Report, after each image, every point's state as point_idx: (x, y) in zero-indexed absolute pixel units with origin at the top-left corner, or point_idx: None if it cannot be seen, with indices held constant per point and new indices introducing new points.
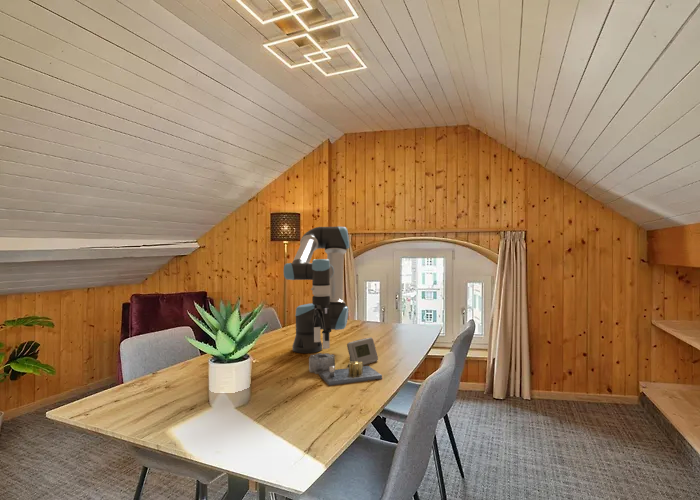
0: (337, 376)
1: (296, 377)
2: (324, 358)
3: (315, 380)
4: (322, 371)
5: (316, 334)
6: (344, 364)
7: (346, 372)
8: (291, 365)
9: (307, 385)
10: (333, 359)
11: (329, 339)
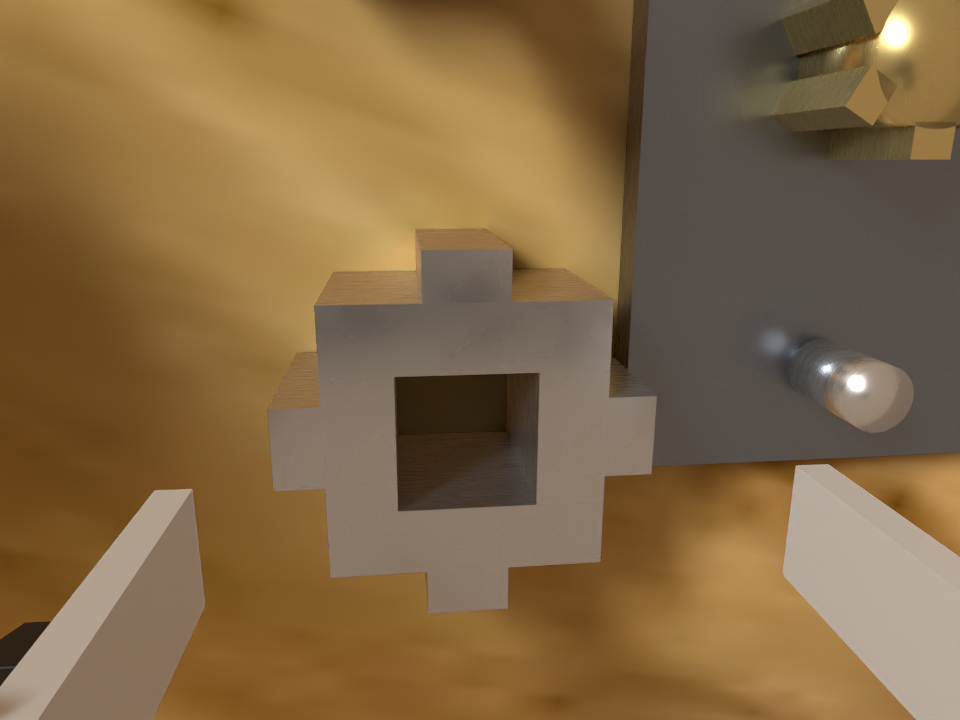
0: (877, 326)
1: (585, 662)
2: (598, 436)
3: (751, 518)
4: None
5: (147, 678)
6: (290, 19)
7: (798, 180)
8: None
9: None
10: (605, 297)
11: (944, 548)
